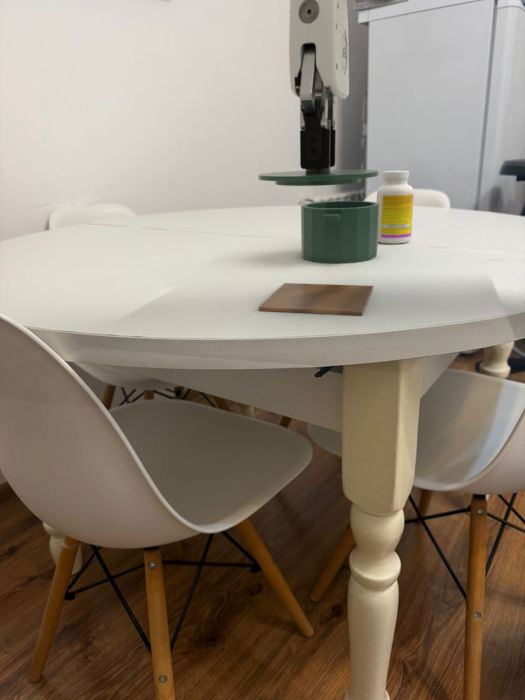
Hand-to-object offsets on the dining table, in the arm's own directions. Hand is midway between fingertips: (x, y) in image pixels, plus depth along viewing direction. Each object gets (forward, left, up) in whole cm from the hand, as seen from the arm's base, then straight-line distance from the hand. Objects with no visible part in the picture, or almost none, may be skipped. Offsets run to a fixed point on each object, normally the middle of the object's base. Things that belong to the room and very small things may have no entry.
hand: (318, 166), depth 61 cm
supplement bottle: (-6, -43, -16) cm, 46 cm away
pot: (+2, -28, -16) cm, 32 cm away
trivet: (0, 0, -16) cm, 16 cm away
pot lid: (0, 0, -1) cm, 1 cm away
